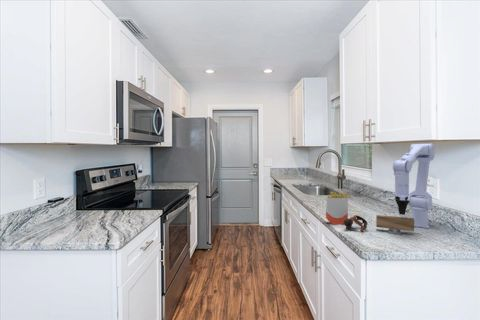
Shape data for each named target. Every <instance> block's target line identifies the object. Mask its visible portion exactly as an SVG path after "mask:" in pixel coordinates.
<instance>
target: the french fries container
mask: <svg viewBox="0 0 480 320" xmlns="http://www.w3.org/2000/svg"><path fill="white" fill-rule="evenodd" d="M348 201H349V199H348V193H347V192H344V193H342V192H341V191H339V194H337V192H336V191H330V195H327V197H326V202H325V203H326V205H325V218H326V220H327V221H328V222H329V223H330V224H332V225H338V226H339V225H341V226H342V225H343V226H344V220H345V219H349V211H348V210H349V209H348V208H349V207H348V206H349V202H348Z"/></svg>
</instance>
